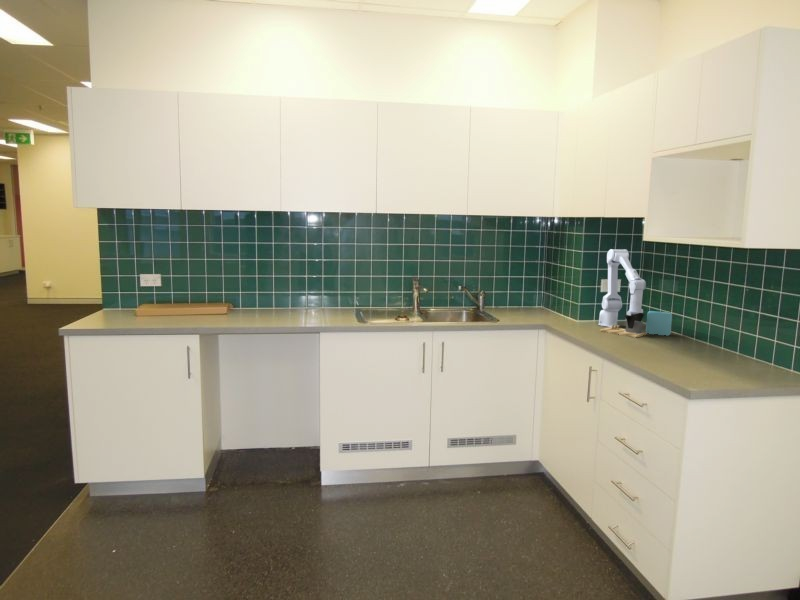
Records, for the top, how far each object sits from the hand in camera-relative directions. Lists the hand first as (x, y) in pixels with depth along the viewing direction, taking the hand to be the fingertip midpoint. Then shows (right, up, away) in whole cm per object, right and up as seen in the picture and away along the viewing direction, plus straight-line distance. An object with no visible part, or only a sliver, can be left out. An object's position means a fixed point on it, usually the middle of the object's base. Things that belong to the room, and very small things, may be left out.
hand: (633, 327), depth 290 cm
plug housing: (0, -3, 0) cm, 3 cm away
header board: (-4, -3, +4) cm, 6 cm away
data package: (+14, -4, +3) cm, 15 cm away
